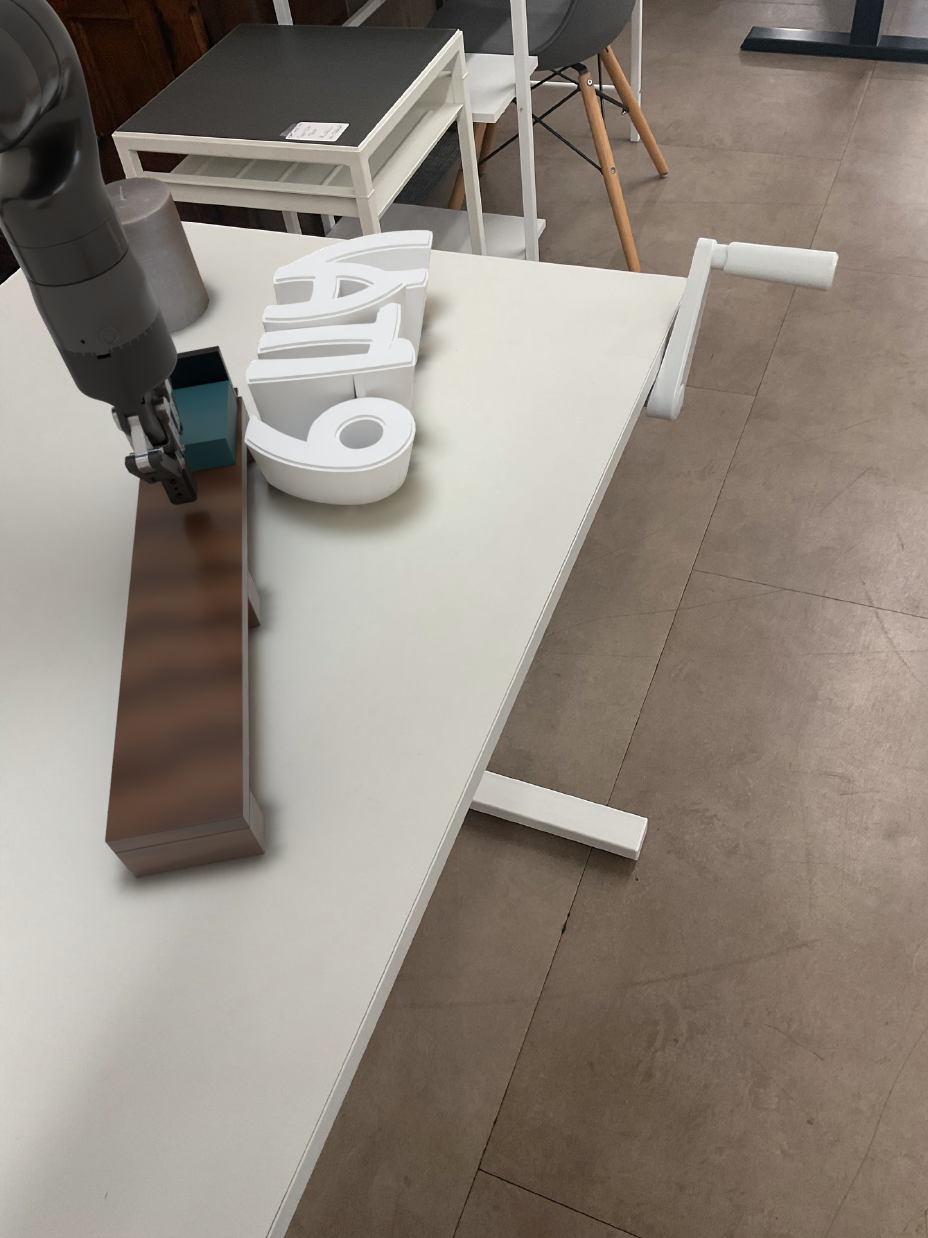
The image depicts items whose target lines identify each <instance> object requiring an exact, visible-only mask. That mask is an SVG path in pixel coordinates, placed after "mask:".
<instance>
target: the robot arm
mask: <svg viewBox="0 0 928 1238" xmlns="http://www.w3.org/2000/svg"><path fill="white" fill-rule="evenodd" d="M105 185H106V183H105V181H104V178H103V173H102V168H101V161H100V151H99V145H98V138H97V133H96V128H95V124H94V118H93V113H92V107H91V101H90V97H89V93H88V87H87V83H86V79H85V74H84V71H83V67H82V64H81V62H80V58H79V55H78V53H77V49H76V47H75V44H74V42H73V40H72V37H71V35H70V34H69V32H68V30H67V28H66V26H65V24H64V23H63V22H62V19H61V18H60V17H59V15H58V14H57V13H56V11H55V10H54V8H53V7H52V5H50V4H49V2H48V1H47V0H0V229H1V231H2V233H3V235H4V237H5V239H6V241H7V243H8V245H9V247H10V249H11V251H12V253H13V256H14V257H15V260H16V261H17V263H18V265H19V266H20V269H21V271H22V273H23V276H24V277H25V279H26V281H27V284H28V287H29V290H30V292H31V296H32V299H33V301H34V304H35V307H36V309H37V312H38V313H39V315H40V317H41V319H42V321H43V324H44V326H45V327H46V329H47V331H48V333H49V335H50V337H51V339H52V341H53V343H54V345H55V347H56V348H57V351H58V354H59V355H60V357H61V359H62V360H63V363H64V364H65V366H66V368H67V371H68V372H69V374H70V376H71V379H72V380H73V382H74V384H75V386H76V388H77V389H78V390H79V392H80V393H82V394H83V395H84V396H86V397H87V398H89V399H93V400H95V401H100V402H103V403H106V404H109V405H111V406H112V407H111V409H110V411H111V416H112V419H113V422H114V423H115V425H116V427H117V429H118V430H119V431H121V432H123V433H124V435H125V437H126V439H127V441H128V443H129V445H130V447H131V449H132V451H133V452H129V454H128V455H126V456H125V457H124V466H125V469H126V470H127V472H128V473H129V474H131V475H133V476H135V477H137V479H139V480H140V479H142V480H144V481H145V482H147V483H149V484H153V483H156V482H160V481H161V483H162V485H163V487H164V489H165V491H166V493H167V496H168V498H169V500H170V502H171V503H172V504H174V505H180V504H185V503H190V502H194V501H196V500H197V483H196V481H195V479H194V476H193V474H192V472H191V469H190V467H189V465H188V462H187V460H186V458H185V456H184V455H185V450H186V448H185V445H184V444H183V442H182V439H181V437H180V435H182V434H183V425H182V424H181V420H180V416H179V412H178V408H177V404H176V400H175V396H174V392H173V388H172V384H171V380H170V375H171V373H172V372H173V370H174V368H175V366H176V363H177V353H178V351H177V347H176V345H175V343H174V340H173V338H172V335H171V333H169V330H168V328H167V325H166V323H165V320H164V318H163V315H162V313H161V310H160V308H159V305H158V303H157V300H156V298H155V295H154V293H153V290H152V288H151V285H150V283H149V280H148V278H147V275H146V273H145V271H144V269H143V266H142V265H141V263H140V261H139V259H138V257H137V256H136V254H135V252H134V251H133V249H132V247H131V245H130V243H129V241H128V239H127V236H126V234H125V231H124V229H123V226H122V224H121V221H120V219H119V216H118V214H117V211H116V209H115V207H114V204H113V201H112V199H111V197H110V194H109V192H108V190H107V188H106V186H105ZM182 455H183V456H182Z"/></svg>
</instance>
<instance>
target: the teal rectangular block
mask: <svg viewBox="0 0 928 1238" xmlns="http://www.w3.org/2000/svg"><path fill="white" fill-rule="evenodd" d="M173 392H174V396H175V400H176V404H177V408H178V412H179V416H180V420H181V424H182V425H183V434H182V435H180V437H181V439H182V442H183V444H184V445H185V448H186V450H185V455H184V456H185V458H186V460H187V462H188V465H189V467H190V469H191V472H194V471H200V470H206V469H211V468H217V467H223V466H229V465H235V464H236V450H237V428H238V404H237V401H236V398H235V396H234V393H233V390H232V387H231V385H230V382H229V380H227V381H221V382H215V383H209V384H204V385H198V386H192V387H186V388H180V389H174V390H173ZM182 456H183V455H182Z"/></svg>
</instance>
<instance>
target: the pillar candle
mask: <svg viewBox="0 0 928 1238" xmlns="http://www.w3.org/2000/svg"><path fill="white" fill-rule="evenodd" d="M105 186H106V188H107V190H108V192H109V194H110V197H111V199H112V201H113V204H114V207H115V209H116V211H117V214H118V216H119V219H120V221H121V224H122V226H123V229H124V231H125V234H126V236H127V239H128V241H129V243H130V245H131V247H132V249H133V251H134V252H135V254H136V256H137V257H138V259H139V261H140V263H141V265H142V266H143V269H144V271H145V273H146V275H147V278H148V280H149V283H150V285H151V288H152V290H153V293H154V295H155V298H156V300H157V303H158V305H159V308H160V310H161V313H162V315H163V318H164V320H165V323H166V325H167V328H168V330H169V333H170V334H172V333H175V332H179V331H181V330H184V329H186V328H187V327H190V326H191V325H192V324H194V323H196V322H197V321H198V320H199V319H200V318H201V317H202V316H204V314H205V312H206V311H207V309H208V308H209V307H208V306H209V303H210V297H209V294H208V292H207V289H206V287H205V284H204V281H203V279H202V276H201V273H200V270H199V267H198V265H197V262H196V259H195V257H194V254H193V251H192V248H191V246H190V242H189V240H188V237H187V234H186V232H185V229H184V225H183V223H182V220H181V217H180V214H179V211H178V209H177V206H176V204H175V201H174V197H173V194H172V192H171V189H170V187H169V185H168V184H167V183H166V182H164V181H162V180H160V179H157V178H154V177H146V176H141V177H139V176H138V177H137V176H136V177H129V178H124V179H119V180H116V181H111V182H110V183H108V184H105Z"/></svg>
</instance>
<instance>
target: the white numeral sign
mask: <svg viewBox="0 0 928 1238" xmlns="http://www.w3.org/2000/svg"><path fill="white" fill-rule="evenodd" d="M433 236H434V235H433V231H432V230H431V231H430V230H428V229H427V230H426V229H425V230H424V229H412V230H409V229H408V230H393V231H386V232H385V231H384V232H378V233H372V234H368V235H362V236H358V237H354V238H351V239H350V238H349V239H346V240H342V241H339V242H336V243H333V244H330V245H327V246H325V247H322V248H320V249H317V250H315V251H313V252H310V253H308V254H306V255H304V256H302V257H299V258H298V259H296V260H294V261H292V262H291V263H289V264H287V265H281V266H279V267H278V268H277V270H276V271H275V272H274V273H273V276H272V284H273V288H274V294H275V300H276V304H270V305H267V306H266V307H265V309H264V310H263V313H262V317H261V318H262V319H261V321H262V326H263V330H264V333H263V334H262V336H261V337H260V339H259V341H258V344H257V351H256V354H257V358H258V359H252V360H251V362H249V364H248V366H247V368H246V370H245V381H246V383H247V386H248V389H249V391H250V393H251V397H252V399H253V402H254V404H255V407H256V410H257V412H258V415H259V417H257V416H256V415H255V414H254V413H251V415H250V416H249V418H250V420H249V423H248V426H247V429H246V434H245V443H246V445H247V447H248V449H249V450H250V452H251V454H252V456H253V457H254V459H255V461H254V462H255V463H256V465H257V466H258V469H259V470H260V471H261V473H262V474H263V477H264V478H265V480H266V482H267V483H268V484H270V485H271V486H273V488H276V489H277V490H280V491H281V492H284V493H285V494H288V495H290V496H293V497H295V498H299V499H302V500H305V501H310V502H315V503H319V504H320V503H321V504H326V505H327V504H329V505H340V506H341V505H342V506H359V505H360V506H361V505H367V504H373V503H376V502H379V501H381V500H384V499H386V498H389V497H390V496H391V495H393V494H394V493H396V492H397V491H398V490H399V489H400V488H401V487H402V486H403V484H404V483H405V481H406V479H407V475H408V471H409V466H410V462H411V461H410V460H411V456H412V452H413V451H412V450H413V446H414V441H415V435H416V421H415V418H414V416H413V414H412V412H413V401H414V400H413V397H414V385H415V384H414V383H415V373H416V372H415V371H416V365H417V363H418V357H419V350H420V342H421V335H422V330H423V329H422V328H423V321H424V313H425V307H426V301H427V300H426V299H427V293H428V292H427V291H428V286H429V277H430V272H429V267H430V259H431V253H432V245H433Z"/></svg>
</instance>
